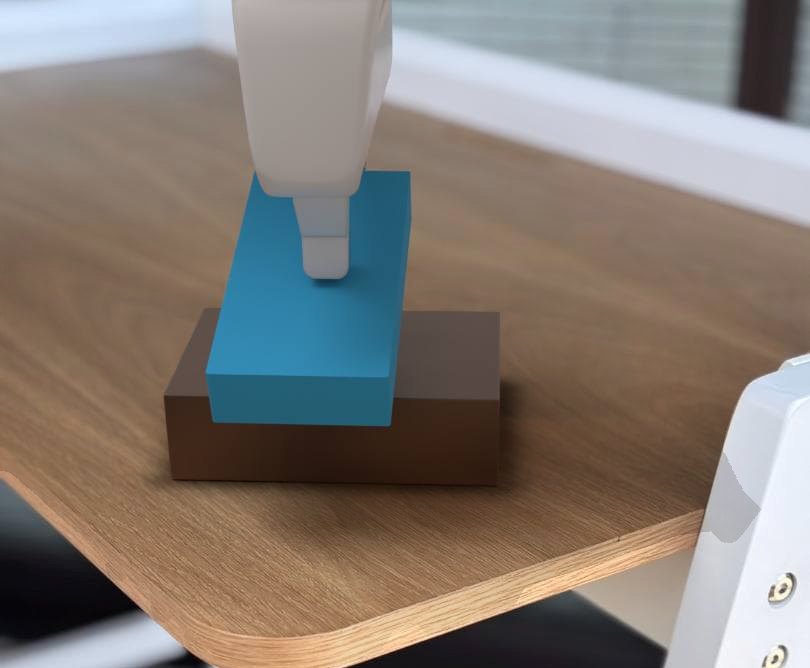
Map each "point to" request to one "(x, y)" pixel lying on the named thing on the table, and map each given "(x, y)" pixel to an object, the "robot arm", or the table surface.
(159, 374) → the table surface
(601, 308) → the table surface
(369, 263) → the blue rectangular block
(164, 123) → the table surface
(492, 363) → the walnut block
